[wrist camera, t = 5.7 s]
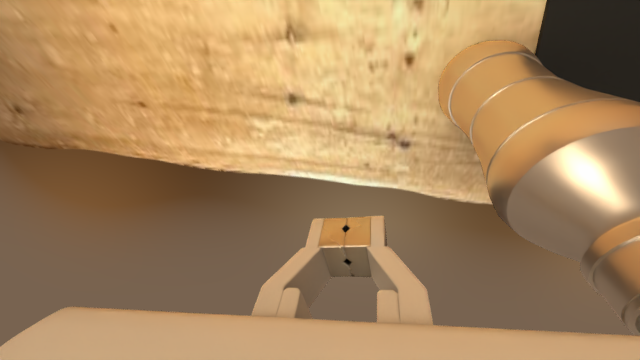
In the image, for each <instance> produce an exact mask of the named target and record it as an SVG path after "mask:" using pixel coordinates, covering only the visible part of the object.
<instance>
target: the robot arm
mask: <svg viewBox="0 0 640 360" xmlns="http://www.w3.org/2000/svg"><path fill="white" fill-rule="evenodd" d="M341 276H342V277H343V276H355V277H372V279H373V281H374V282H375V284H376V285H377V287H378V289H379V290H380V291H379V292H378V293H377V322H360V321H340V320H321V319H313V318H312V316H311V314H310V311H309V308H310V306H311V305H312V303H313V302H314V301H315V299H316V298H317V297H318V295H319V294H320V292H321V291H322V290H323V288H324V287H325V286H326V284H327V283H328V281H329V280H330V279H331V277H341ZM0 360H640V336H633V335H613V334H594V333H575V332H555V331H535V330H516V329H497V328H477V327H458V326H439V325H433V321H432V315H431V309H430V304H429V298H428V293H427V289H426V288H425V287H424V286H423V285H422V283H421V282H420V281H419V280H418V279H417V278H416V277H415V275H414V274H413V273H412V272H411V271H410V270H409V269H408V267H407V266H406V265H405V264H404V263H403V262H402V261H401V259H400V258H399V257H398V256H397V255H396V254H395V253H394V252H393V250H392V249H391V248H390V247H389V246H387V239H386V229H385V220H384V216H367V217H351V218H350V217H349V218H325V219H313V221H312V224H311V227H310V231H309V235H308V239H307V243H306V246H305V248H301V249H300V250H299V251H298V252H297V253H296V254H295V255H294V256H293V257H292V258H291V259H290V260H289V261H288V262H287V263H286V264H285V265H284V266H282V267H281V268H280V269H279V270H278V271H277V272H276V273H275V274H274V275H273V276H272V277H271V278H270V279H269V280H268V281H267V282H266V283H265V284H264V285H262V287H261V290H260V293H259V295H258V298H257V301H256V304H255V306H254V309H253V312H252V314H251V316H244V315H224V314H205V313H204V314H203V313H186V312H167V311H148V310H128V309H109V308H90V307H66V308H63V309H61V310H59V311H57V312H55V313H53V314H52V315H50V316H48V317H46V318H44V319H43V320H41V321H39V322H38V323H36V324H34V325H33V326H31V327H29V328H28V329H26V330H24V331H23V332H21V333H20V334H18V335H16V336H15V337H13V338H12V339H10V340H9V341H8V342H6V343H5V344H4V345H2V346H1V347H0Z"/></svg>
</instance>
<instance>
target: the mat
mask: <svg viewBox="0 0 640 360" xmlns="http://www.w3.org/2000/svg"><path fill="white" fill-rule="evenodd" d="M535 56H536V57H537V58H538V59H539V61H540V62H541V63H542V65H543V66H544V67H545V68H546V69H548V70H549V71H550V72H552V73H553V74H554V75H556V76H557V77H559V78H561V79H564V80H566V81H569V82H571V83H573V84H576V85H578V86H581V87H583V88H586V89H589V90H593V91H597V92H601V93H605V94H609V95H613V96H617V97H621V98H625V99H629V100H633V101H636V102H640V0H547V2H546V7H545V12H544V16H543V21H542V25H541V30H540V35H539V39H538V44H537V48H536V53H535Z"/></svg>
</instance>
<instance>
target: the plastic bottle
mask: <svg viewBox="0 0 640 360" xmlns="http://www.w3.org/2000/svg"><path fill="white" fill-rule="evenodd" d="M438 95H439V103H440V107H441V109H442V111H443V113H444V114H445V115H446V116H447V117H448V118H449V119H450V120H451V121H452V122H453V123H454V124H455V125H456V126H458V127H459V128H461V129H462V131H463V132H464V133H465V134H466V135H467V137H468V138H469V139H470V140H471V142H472V144H473V147H474V149H475V151H476V153H477V155H478V157H479V160H480V163H481V167H482V170H483V174H484V178H485V181H486V185H487V189H488V193H489V196H490V199H491V201H492V204H493V206H494V208H495V210H496V212H497V214H498V216H499V217H500V218H501V219H502V220H503V221H504V222H505V223H506V224H507V225H508V226H509V227H511V228H512V229H513V230H514V231H515V232H516V233H518V234H519V235H520V236H521V237H523V238H525V239H526V240H528V241H529V242H532V243H534V244H536V245H538V246H540V247H542V248H545V249H547V250H549V251H551V252H554V253H556V254H559V255H562V256H564V257H567V258H570V259H573V260H576V261H579V262H580V270H581V273H582V275H583V277H584V278H585V279H586V281H587V282H588V284H589V285H590V286H591V287H592V288H593V290H594V291H595V292H596V293H598V294H600V295H601V296H603V297H604V299H605V300H606V301H607V303H608V304H609V305H610V307H611V308H612V309H613V311H614V312H615V313H616V315H617V316H618V318H619V319H620V320H621V322H622V323H623V324H624V325H625V326H626V327H627V328H628V329H629V330H630V331H631V332H632V333H633V334H634V335H635V336H640V102H636V101H633V100H629V99H625V98H621V97H617V96H613V95H609V94H605V93H601V92H597V91H593V90H589V89H586V88H583V87H581V86H578V85H576V84H573V83H571V82H569V81H566V80H564V79H561V78H559V77H557V76H556V75H554V74H553V73H552V72H550V71H549V70H548V69H546V68H545V67H544V66H543V65H542V63H541V62H540V61H539V59H538V58H537V57H536V56H535V55H534V54H533V53H532V52H531V51H530V50H529V49H527V48H526V47H525V46H523V45H521V44H518V43H516V42H512V41H506V40H497V41H485V42H480V43H477V44H474V45H472V46H469V47H468V48H466V49H464V50H463V51H461V52H460V53H459V54H457V55H456V56H455V57H454V58H453V59H452V60H451V61H450V62H449V63H448V64H447V66H446V68H445V69H444V71H443V73H442V75H441V78H440V81H439V86H438Z"/></svg>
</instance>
